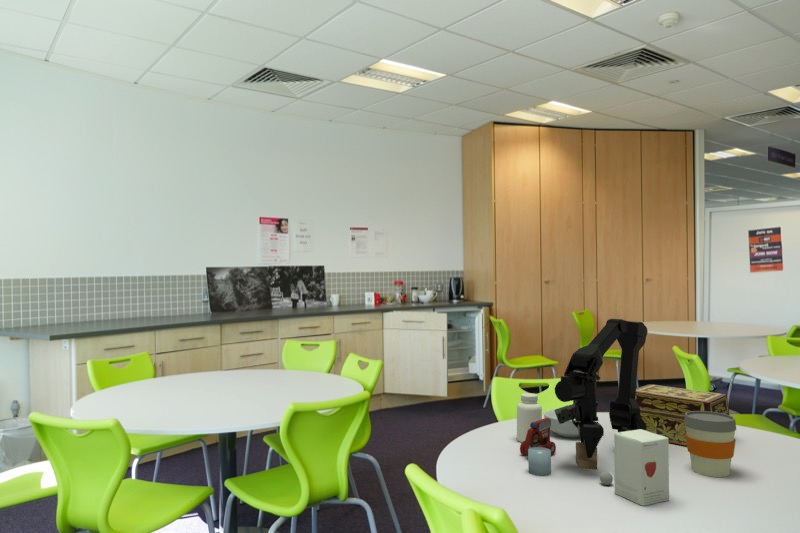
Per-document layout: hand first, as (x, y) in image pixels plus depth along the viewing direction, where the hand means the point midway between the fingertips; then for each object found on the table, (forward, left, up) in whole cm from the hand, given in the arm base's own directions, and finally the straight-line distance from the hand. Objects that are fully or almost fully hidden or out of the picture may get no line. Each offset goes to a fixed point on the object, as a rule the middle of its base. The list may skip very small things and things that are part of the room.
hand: (586, 452), depth 158 cm
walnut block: (0, 0, -4) cm, 4 cm away
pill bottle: (+18, -20, -4) cm, 27 cm away
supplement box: (-13, +19, -4) cm, 23 cm away
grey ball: (-5, +13, -2) cm, 14 cm away
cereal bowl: (+6, -32, -4) cm, 33 cm away
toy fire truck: (+14, -6, -4) cm, 16 cm away
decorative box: (-28, -39, -4) cm, 48 cm away
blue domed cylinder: (+12, +9, -4) cm, 16 cm away
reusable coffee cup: (-32, -6, -4) cm, 33 cm away
